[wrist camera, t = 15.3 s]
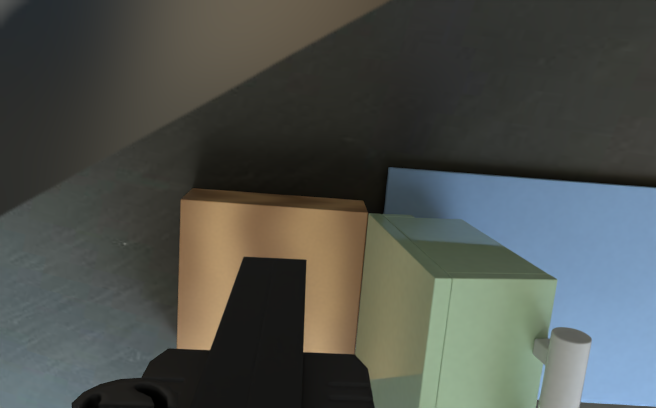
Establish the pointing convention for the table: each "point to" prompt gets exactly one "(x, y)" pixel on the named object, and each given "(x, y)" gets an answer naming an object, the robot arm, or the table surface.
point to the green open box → (460, 321)
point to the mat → (566, 259)
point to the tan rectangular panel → (271, 242)
